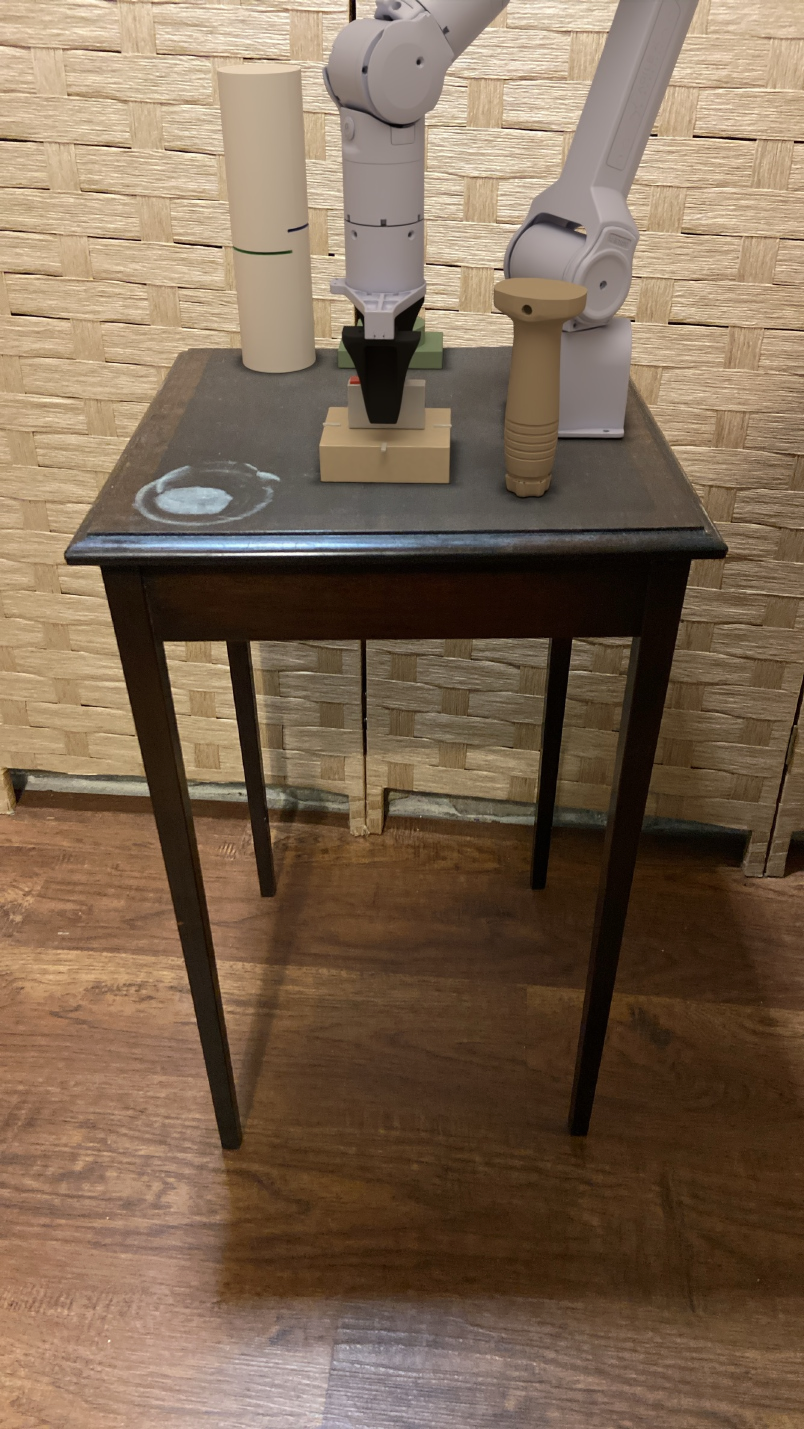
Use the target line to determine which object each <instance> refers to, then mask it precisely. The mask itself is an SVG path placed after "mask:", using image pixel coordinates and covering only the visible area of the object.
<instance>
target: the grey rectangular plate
mask: <svg viewBox="0 0 804 1429" xmlns="http://www.w3.org/2000/svg"><path fill="white" fill-rule="evenodd" d="M426 381H427V380H426V379H411V378H410V379H406V378H405V383H404V389H403V396H402V403H401V409H400V414H399V418H398V421H397V424H371V423H370V422H369V419H368V416H367V412H366V408H365V404H364V399H363V394H362V390H361V385H360V381H359V377H358V375H357V376H355V375H351V376H350V378H349V379H348V381H347V384H346V391H347V392H346V393H347V407H348V422H349V428H389V429H425V408H426V402H427V401H426V400H427V399H426V398H427V397H426V396H427V395H426V391H427V389H426V383H427V382H426Z"/></svg>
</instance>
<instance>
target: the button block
mask: <svg viewBox="0 0 804 1429" xmlns="http://www.w3.org/2000/svg"><path fill="white" fill-rule="evenodd" d="M356 326H363V325H362V322H361V319H360V318H359V319H358V320H357V324H356ZM413 331H421V339H420V342H419V344H418V347H417V349H416V351H415V353H414V355H413V357H412V359H411V361H410V364H409V367H408V369H423V370H424V369H429V370H431V369H432V370H433V369H434V370H435V369H436V370H437V369H439V370H441V369H443V353H444V332H443V331H426V319H424V318H423V317H421V316H419V315H418V316H417V319H416V321H415V324H414V327H413ZM337 366H338V369H355V366H354V364H353V361H352V359H351V357H350V355H349V354H348V352H347V350H346V349H345V347H344V344H343V342H342V337H341V338H340V342H339V345H338V348H337Z"/></svg>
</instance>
